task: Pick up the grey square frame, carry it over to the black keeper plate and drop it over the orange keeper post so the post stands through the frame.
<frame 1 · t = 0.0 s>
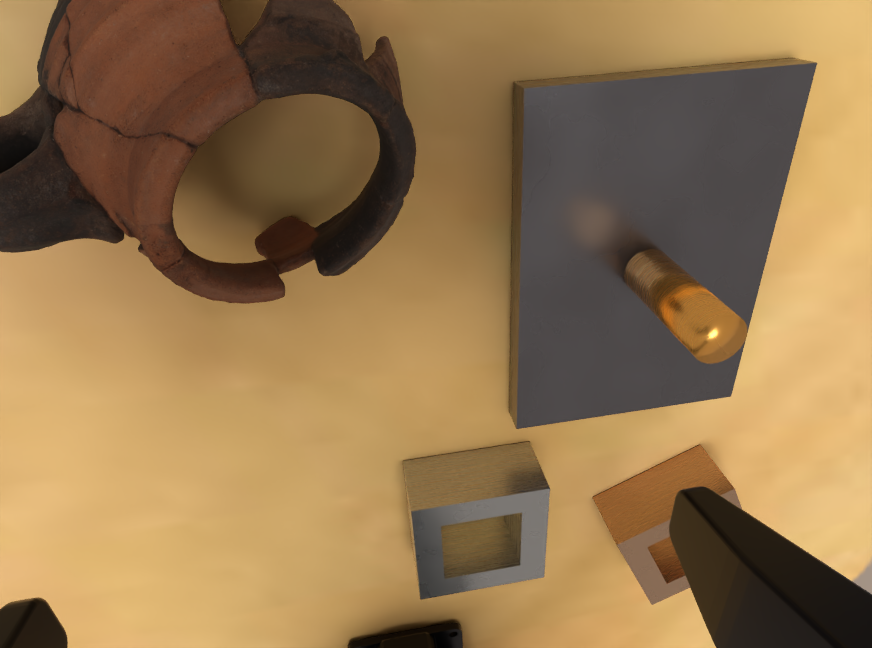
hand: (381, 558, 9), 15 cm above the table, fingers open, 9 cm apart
keeper: (632, 257, 24), on the table
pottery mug: (203, 103, 19), on the table
brown hollow square block: (661, 504, 32), on the table
grey square frame: (468, 496, 29), on the table
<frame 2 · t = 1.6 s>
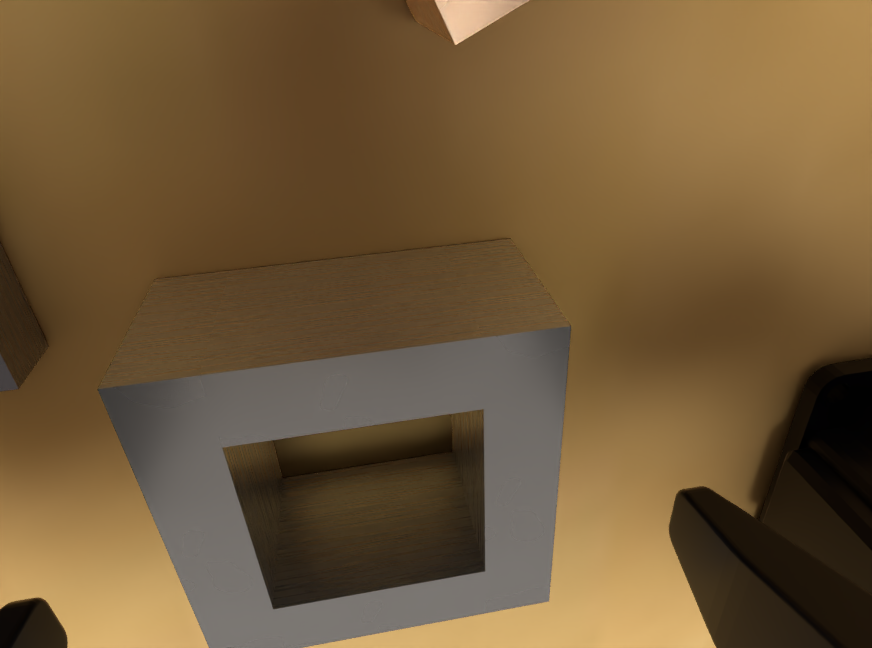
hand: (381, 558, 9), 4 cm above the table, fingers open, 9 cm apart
grey square frame: (359, 397, 12), on the table
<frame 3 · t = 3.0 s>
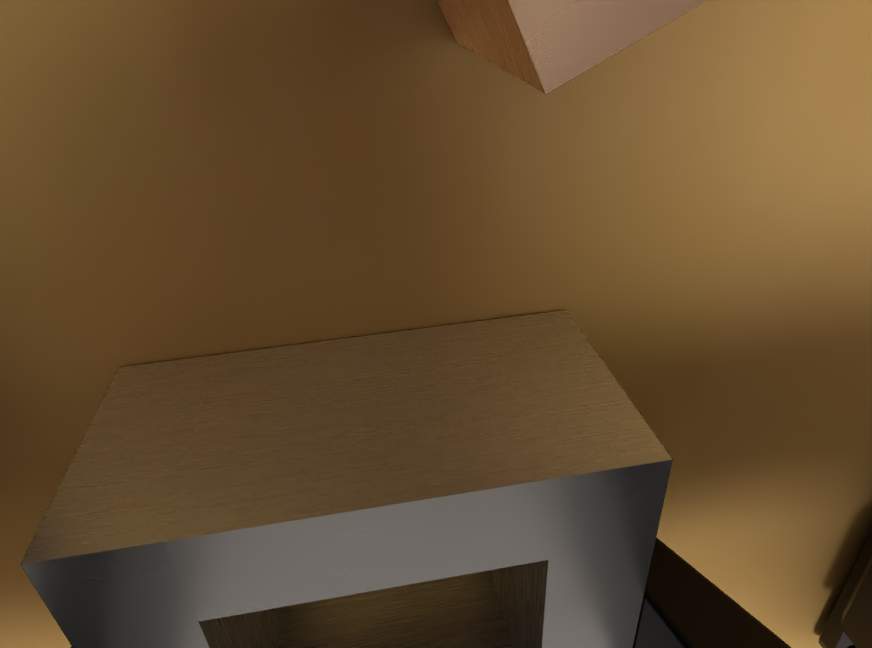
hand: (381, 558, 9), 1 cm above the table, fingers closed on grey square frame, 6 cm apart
grey square frame: (374, 494, 10), on the table, touching gripper
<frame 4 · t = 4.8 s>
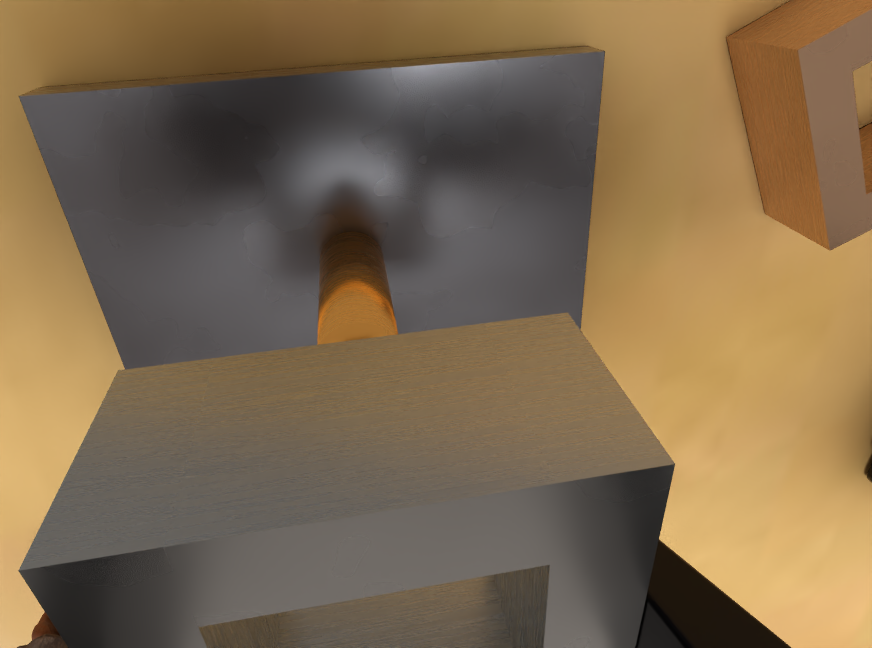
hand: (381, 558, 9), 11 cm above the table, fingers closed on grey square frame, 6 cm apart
keeper: (350, 244, 18), on the table
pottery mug: (187, 589, 25), on the table
brown hollow square block: (842, 81, 18), on the table
grey square frame: (375, 497, 10), point 10 cm above the table, touching gripper
when the fingers open (4 cm above the table, at t = 6.8 s): grey square frame drops 2 cm, resting on keeper.
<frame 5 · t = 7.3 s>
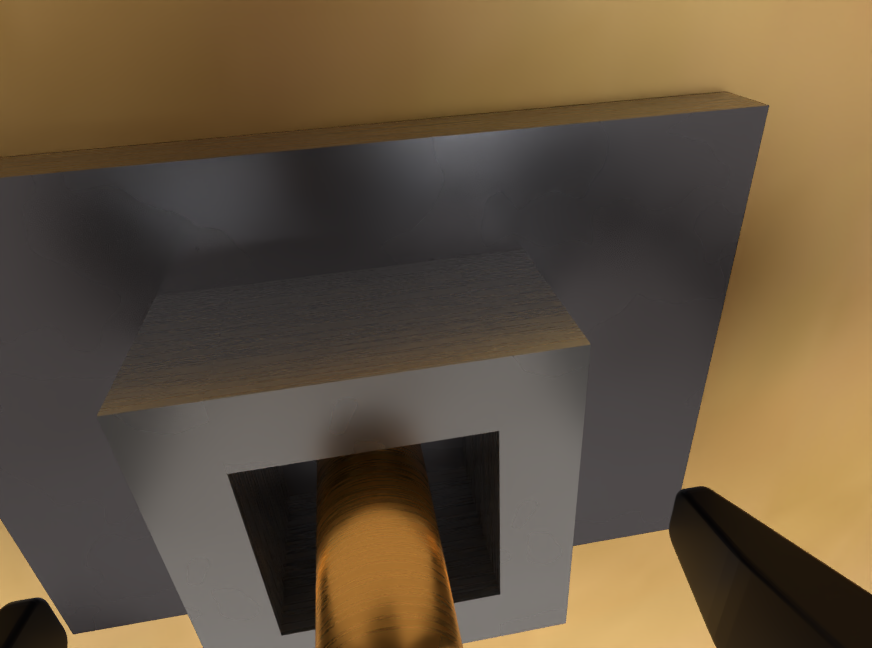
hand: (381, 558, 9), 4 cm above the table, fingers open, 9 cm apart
keeper: (361, 375, 12), on the table
grey square frame: (367, 413, 11), point 1 cm above the table, touching keeper
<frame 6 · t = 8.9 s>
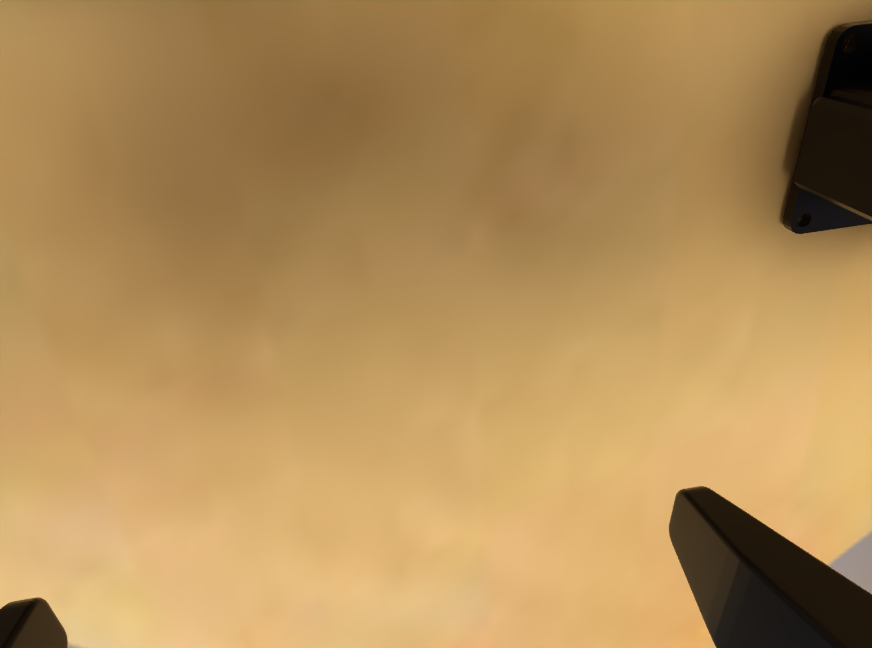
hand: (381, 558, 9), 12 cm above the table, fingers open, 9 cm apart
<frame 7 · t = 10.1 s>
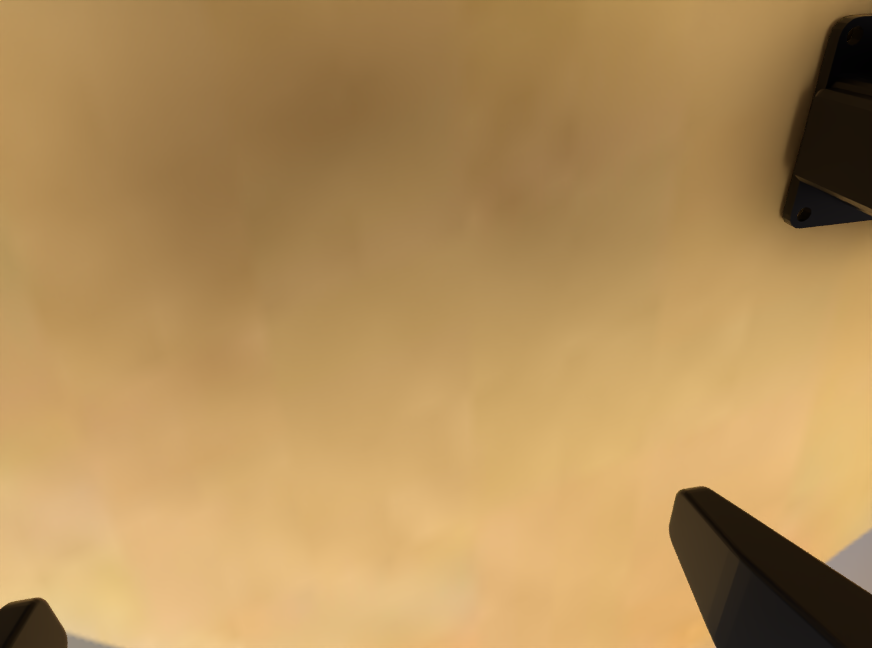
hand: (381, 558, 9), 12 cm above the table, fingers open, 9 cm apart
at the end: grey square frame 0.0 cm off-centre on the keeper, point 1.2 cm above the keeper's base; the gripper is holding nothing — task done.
